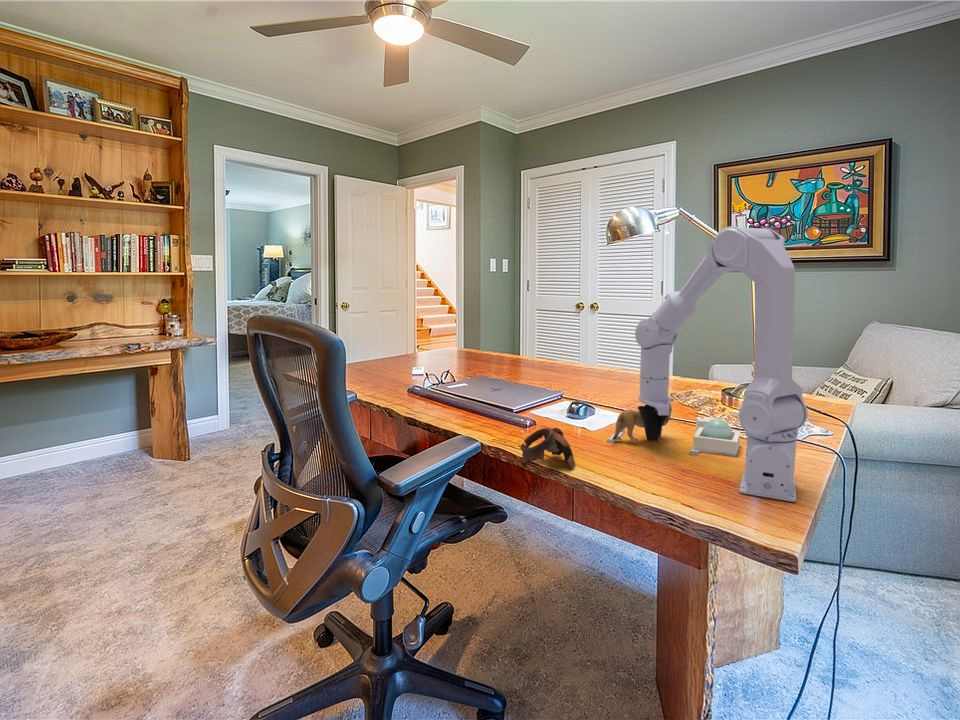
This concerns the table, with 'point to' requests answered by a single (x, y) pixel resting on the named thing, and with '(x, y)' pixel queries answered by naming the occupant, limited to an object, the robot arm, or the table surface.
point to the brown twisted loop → (547, 446)
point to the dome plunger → (717, 429)
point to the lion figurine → (633, 423)
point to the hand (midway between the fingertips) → (652, 440)
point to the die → (702, 421)
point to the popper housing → (716, 443)
